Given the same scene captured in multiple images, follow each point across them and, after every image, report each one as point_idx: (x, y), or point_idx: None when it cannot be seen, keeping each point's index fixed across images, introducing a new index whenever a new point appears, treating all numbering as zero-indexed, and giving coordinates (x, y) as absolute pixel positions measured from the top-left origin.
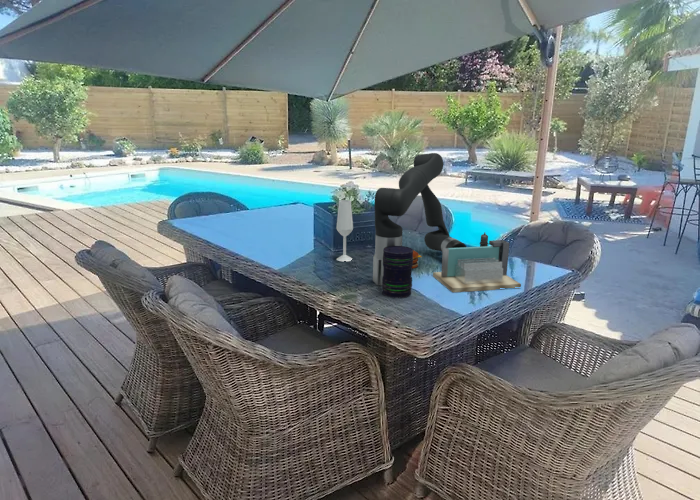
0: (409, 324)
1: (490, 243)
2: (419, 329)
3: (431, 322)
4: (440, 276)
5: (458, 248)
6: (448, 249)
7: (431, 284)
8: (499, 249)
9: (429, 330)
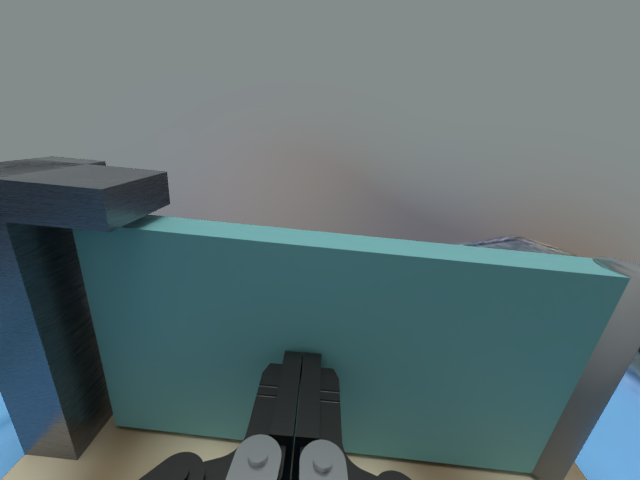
0: (553, 253)
1: (129, 207)
2: (528, 243)
3: (511, 249)
4: (569, 476)
5: (499, 254)
6: (595, 257)
7: (596, 437)
8: (70, 247)
9: (510, 239)
